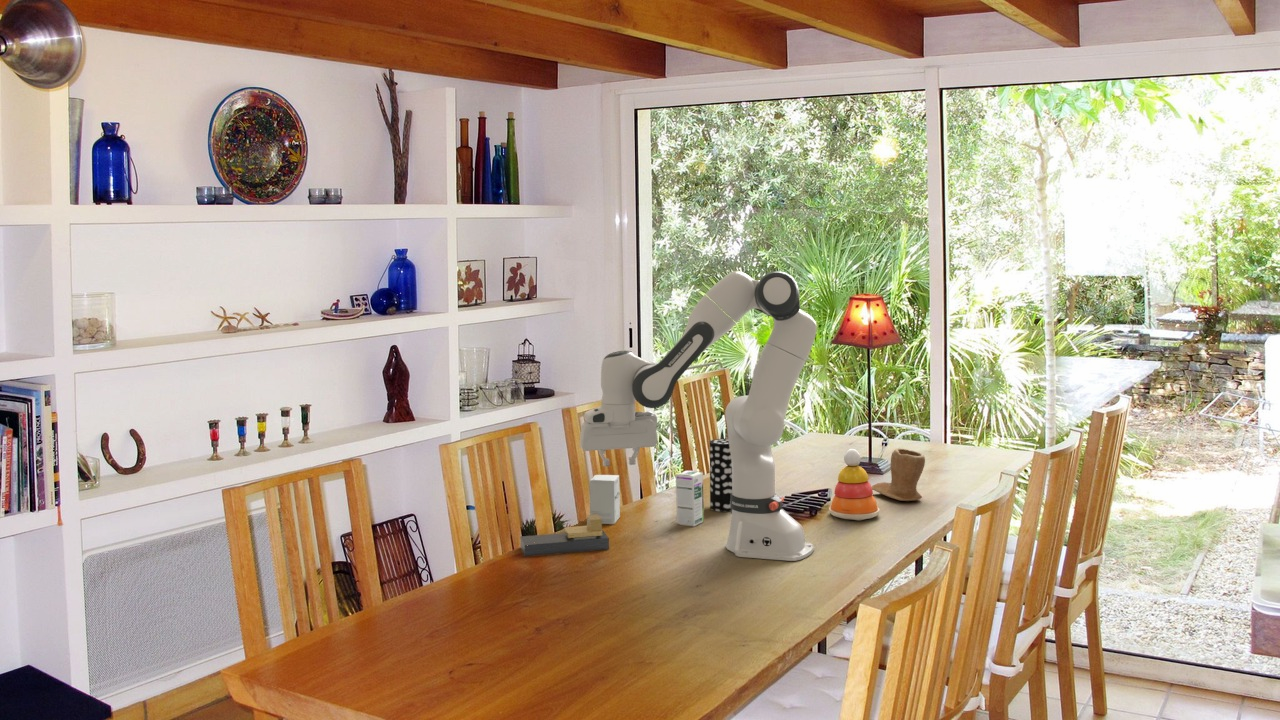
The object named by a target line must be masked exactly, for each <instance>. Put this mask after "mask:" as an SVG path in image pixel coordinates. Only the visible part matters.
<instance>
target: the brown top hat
mask: <svg viewBox="0 0 1280 720" xmlns="http://www.w3.org/2000/svg"><path fill="white" fill-rule="evenodd" d="M925 465H926V458H925V455H924V454H923V453H921V452H919V451H914V450H910V449H907V448H906V449H905V448H900V447H899V448H895V449H893V451H892V452H891V457H890V474H891V481H890V482H885V481H883V482H877V483H874V484H873V485H871V487H872V490H873V492H876V493H879V494H881V495H884V496H885V497H888V498H891V499H894V500H896V501H901V502H902V501H903V502H913V501H919V500H921V499H923V497H922V495H921V494H920V493H919V491H918V490H917V486H918V482H919V480H920V478H921V475H922V473H923V471H924V468H925Z"/></svg>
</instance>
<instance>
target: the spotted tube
mask: <svg viewBox="0 0 1280 720" xmlns="http://www.w3.org/2000/svg"><path fill="white" fill-rule="evenodd" d="M731 493H732V461H731V453H730V447H729V439H728V438H716V439H711V440H709V506H710V507H709V509H711V510H712V511H714V512H720V513H721V512H722V513H725V512H731V511H730V498H731Z"/></svg>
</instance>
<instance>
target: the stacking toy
mask: <svg viewBox="0 0 1280 720" xmlns="http://www.w3.org/2000/svg"><path fill="white" fill-rule="evenodd" d="M861 460H862V457H861V454H860V453H859V451H858V450H857V449H855V448H849V449H848V450H847V451H845V453H844V455H843V461H844V463H845V464H846V465H847V466H844V467H843V468H842V469H841V470H840V471H839V473H838V477H837V481H838V482H837V483H836V485H835V489H834V496H833V498H832V501H831V504H830V506H829V508H828V511H829V513H830V514H831V515H832V516H834V517H836V518H840V519H844V520H855V521H863V520H867V519H872V518H876V517H877V516H878V515H879V513H880V508H879V506H878V505H877V501H876V498H875V497H874V496H873V494H874V490H872V485H871V483H870V482H869V475H868V473H867V470H865V469H864V468H863V467H862V466H859V465H860V463H861Z"/></svg>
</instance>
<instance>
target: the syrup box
mask: <svg viewBox="0 0 1280 720" xmlns="http://www.w3.org/2000/svg"><path fill="white" fill-rule="evenodd" d="M675 490H676V491H675V493H676V494H675V495H676V496H675V499H676V501H675V502H676V524H677V525H680V526H687V527H696V526H697V525H700V524H702V523H704V522H705V509H704V506H705V505H704V504H705V503H704V473H703V471H698V470H684V471H682V472H680V473H677V474H676V475H675Z"/></svg>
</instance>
